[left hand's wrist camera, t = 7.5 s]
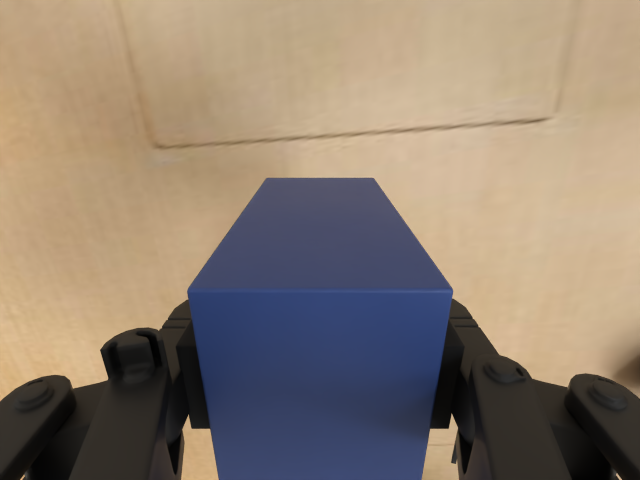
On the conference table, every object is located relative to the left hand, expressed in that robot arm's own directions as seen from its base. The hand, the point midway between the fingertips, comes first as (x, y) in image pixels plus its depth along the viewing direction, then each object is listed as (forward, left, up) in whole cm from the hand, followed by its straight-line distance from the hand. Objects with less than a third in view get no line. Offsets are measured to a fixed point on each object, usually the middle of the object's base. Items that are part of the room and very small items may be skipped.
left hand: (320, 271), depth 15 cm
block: (0, 0, -4) cm, 4 cm away
